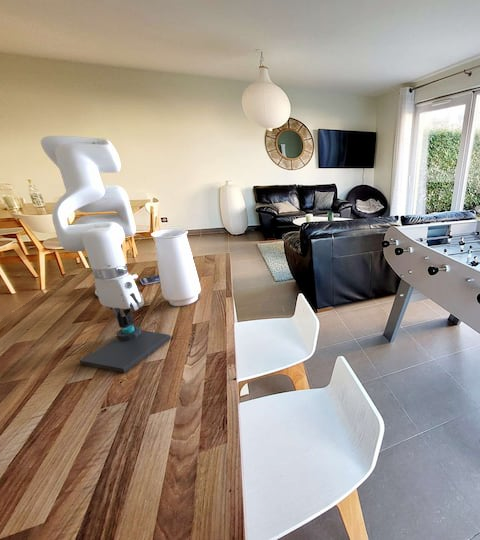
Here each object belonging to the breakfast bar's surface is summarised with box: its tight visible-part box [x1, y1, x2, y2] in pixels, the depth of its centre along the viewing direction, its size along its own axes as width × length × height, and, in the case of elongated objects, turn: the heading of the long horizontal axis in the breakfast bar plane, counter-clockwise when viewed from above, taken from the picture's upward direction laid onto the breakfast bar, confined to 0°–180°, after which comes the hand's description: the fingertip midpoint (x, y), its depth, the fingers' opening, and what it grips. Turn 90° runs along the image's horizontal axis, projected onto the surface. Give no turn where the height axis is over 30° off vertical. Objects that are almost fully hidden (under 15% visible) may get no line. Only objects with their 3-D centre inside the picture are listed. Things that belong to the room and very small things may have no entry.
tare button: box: [121, 324, 135, 334], centre depth 90 cm, size 3×3×2 cm
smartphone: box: [139, 274, 160, 286], centre depth 132 cm, size 8×1×15 cm
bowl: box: [136, 291, 145, 309], centre depth 108 cm, size 7×7×4 cm
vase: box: [150, 228, 201, 307], centre depth 110 cm, size 13×13×28 cm
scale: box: [79, 324, 171, 373], centre depth 85 cm, size 16×14×3 cm
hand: (127, 325), depth 89 cm, fingers closed
